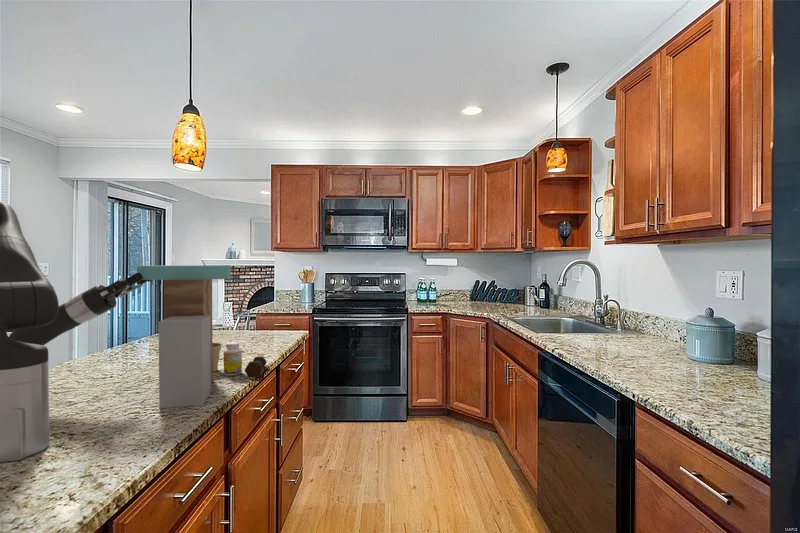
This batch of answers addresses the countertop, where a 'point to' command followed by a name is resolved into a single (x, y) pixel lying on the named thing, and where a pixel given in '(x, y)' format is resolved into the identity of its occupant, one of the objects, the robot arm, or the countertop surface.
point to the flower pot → (216, 355)
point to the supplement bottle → (232, 359)
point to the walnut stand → (189, 301)
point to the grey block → (184, 361)
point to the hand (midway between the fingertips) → (147, 274)
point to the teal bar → (184, 272)
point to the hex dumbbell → (255, 367)
